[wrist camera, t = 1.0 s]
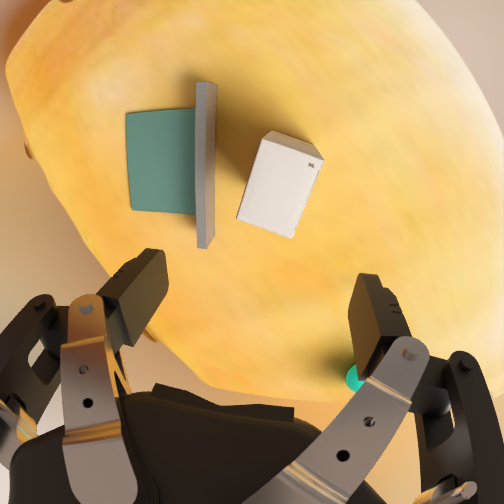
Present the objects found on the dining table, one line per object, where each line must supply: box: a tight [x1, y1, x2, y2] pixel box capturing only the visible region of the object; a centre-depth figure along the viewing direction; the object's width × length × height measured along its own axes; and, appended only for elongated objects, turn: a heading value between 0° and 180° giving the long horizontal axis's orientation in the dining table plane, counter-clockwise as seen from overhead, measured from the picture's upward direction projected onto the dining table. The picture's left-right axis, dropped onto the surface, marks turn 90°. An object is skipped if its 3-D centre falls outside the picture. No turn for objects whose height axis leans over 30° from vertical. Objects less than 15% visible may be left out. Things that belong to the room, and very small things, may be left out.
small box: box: [236, 130, 324, 239], centre depth 28 cm, size 8×6×10 cm
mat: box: [126, 108, 196, 215], centre depth 34 cm, size 14×11×1 cm
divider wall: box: [195, 81, 217, 249], centre depth 31 cm, size 20×1×4 cm, turn 178°
